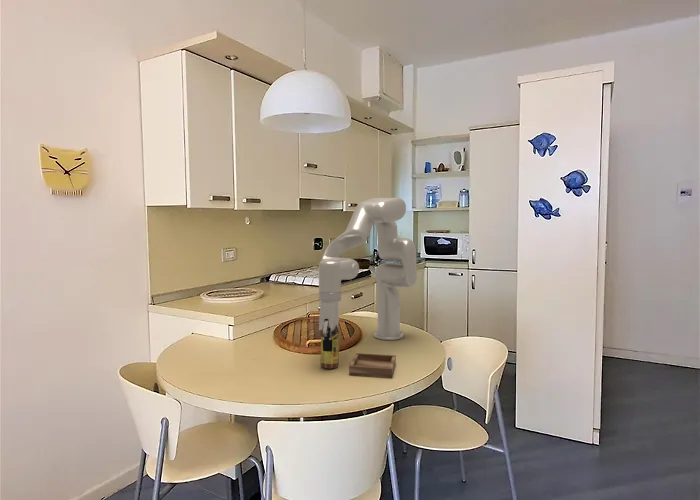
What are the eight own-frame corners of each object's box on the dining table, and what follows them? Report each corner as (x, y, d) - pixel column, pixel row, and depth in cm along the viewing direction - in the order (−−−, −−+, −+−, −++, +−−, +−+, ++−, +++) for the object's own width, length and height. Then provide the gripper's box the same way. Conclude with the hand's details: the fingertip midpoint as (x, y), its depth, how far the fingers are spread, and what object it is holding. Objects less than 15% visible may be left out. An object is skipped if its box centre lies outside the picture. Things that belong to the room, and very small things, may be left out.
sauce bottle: (336, 370, 149) (336, 312, 147) (318, 369, 150) (318, 311, 148) (340, 363, 155) (340, 308, 153) (323, 362, 156) (323, 307, 155)
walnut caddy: (356, 361, 158) (356, 352, 158) (395, 363, 155) (395, 355, 155) (349, 375, 144) (349, 366, 144) (391, 378, 142) (392, 369, 141)
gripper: (325, 291, 160) (325, 340, 161) (312, 300, 143) (312, 355, 144) (345, 292, 158) (345, 341, 160) (335, 301, 141) (335, 356, 143)
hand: (330, 347), depth 152 cm, fingers closed on sauce bottle, 6 cm apart
